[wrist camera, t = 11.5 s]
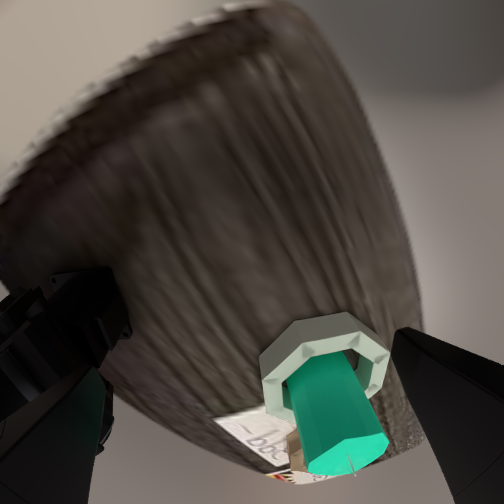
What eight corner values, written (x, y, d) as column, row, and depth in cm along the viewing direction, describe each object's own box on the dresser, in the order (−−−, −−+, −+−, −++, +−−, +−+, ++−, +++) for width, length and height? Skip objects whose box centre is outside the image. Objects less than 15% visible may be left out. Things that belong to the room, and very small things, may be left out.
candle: (349, 375, 25) (394, 470, 13) (293, 395, 25) (318, 498, 14) (341, 333, 23) (399, 441, 11) (276, 356, 23) (302, 477, 12)
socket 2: (265, 409, 25) (269, 431, 23) (254, 326, 22) (257, 349, 19) (365, 388, 26) (375, 407, 23) (380, 304, 22) (396, 322, 19)
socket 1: (288, 461, 30) (291, 478, 27) (285, 421, 26) (290, 442, 24) (362, 444, 30) (368, 459, 28) (377, 400, 27) (386, 417, 24)
